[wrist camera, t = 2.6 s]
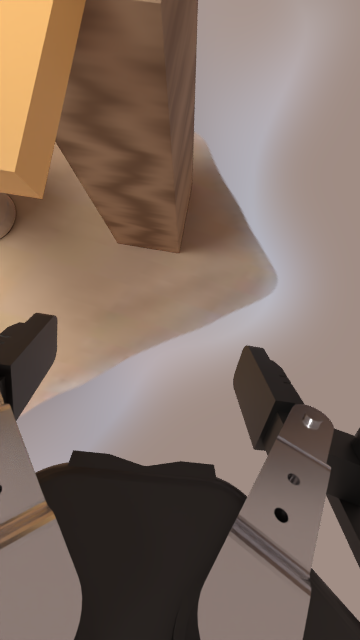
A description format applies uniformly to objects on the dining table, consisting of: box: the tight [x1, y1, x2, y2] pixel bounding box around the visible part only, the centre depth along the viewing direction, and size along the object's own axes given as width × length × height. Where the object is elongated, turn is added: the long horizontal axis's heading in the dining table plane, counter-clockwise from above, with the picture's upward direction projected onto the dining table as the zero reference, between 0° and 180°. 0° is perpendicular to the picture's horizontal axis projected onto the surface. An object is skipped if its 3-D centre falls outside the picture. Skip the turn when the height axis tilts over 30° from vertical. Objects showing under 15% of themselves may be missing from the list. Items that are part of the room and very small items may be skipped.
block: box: [0, 0, 86, 199], centre depth 12 cm, size 3×14×2 cm, turn 170°
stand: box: [55, 0, 198, 253], centre depth 27 cm, size 10×12×37 cm
